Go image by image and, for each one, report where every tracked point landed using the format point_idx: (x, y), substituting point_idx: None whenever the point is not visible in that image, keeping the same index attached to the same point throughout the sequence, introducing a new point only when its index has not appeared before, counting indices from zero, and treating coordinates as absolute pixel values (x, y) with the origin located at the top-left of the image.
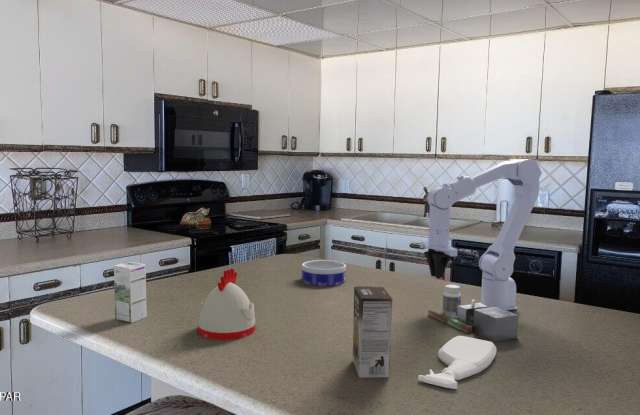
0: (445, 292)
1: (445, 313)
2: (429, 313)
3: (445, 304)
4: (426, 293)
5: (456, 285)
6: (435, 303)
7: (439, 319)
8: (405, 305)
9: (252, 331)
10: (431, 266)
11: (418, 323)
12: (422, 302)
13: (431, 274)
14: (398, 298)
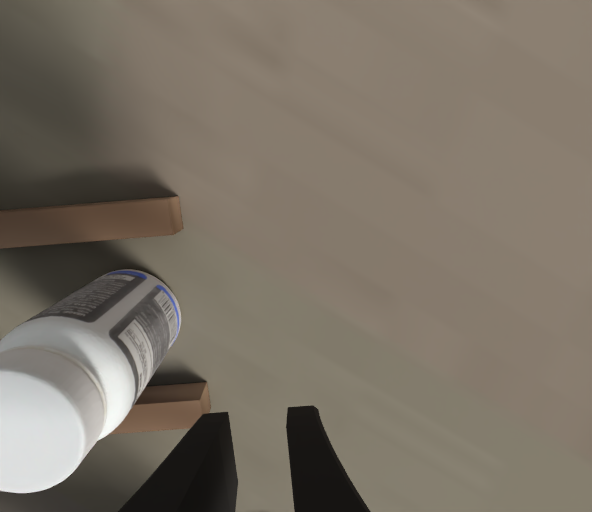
0: (62, 345)
1: (106, 276)
2: (161, 198)
3: (76, 293)
4: (575, 420)
5: (35, 483)
6: (377, 361)
7: (65, 205)
8: (403, 163)
9: None
10: (295, 505)
11: (28, 37)
12: (422, 302)
13: (300, 415)
14: (560, 202)
